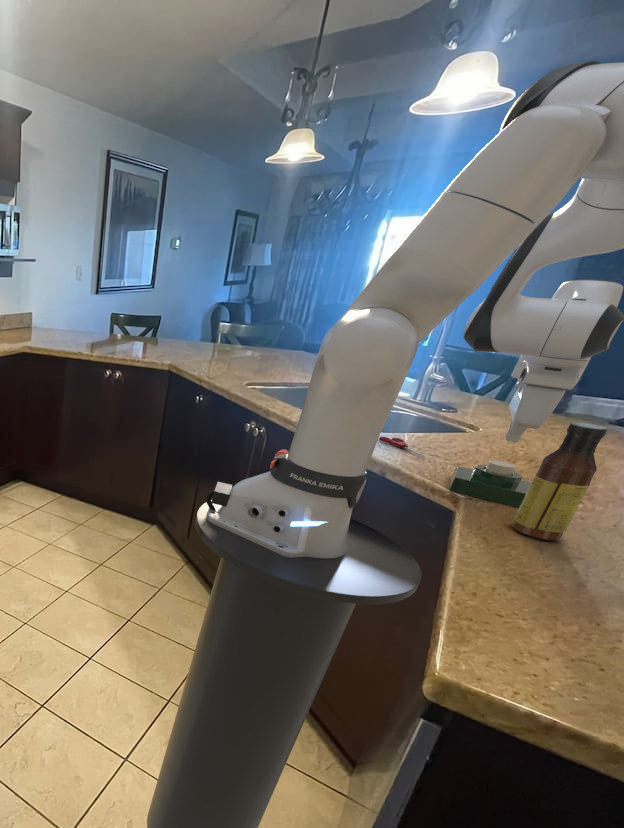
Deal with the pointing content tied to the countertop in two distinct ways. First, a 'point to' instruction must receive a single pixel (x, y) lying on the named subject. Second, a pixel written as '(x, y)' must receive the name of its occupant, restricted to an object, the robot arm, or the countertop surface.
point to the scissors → (398, 443)
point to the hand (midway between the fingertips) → (510, 440)
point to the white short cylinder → (500, 467)
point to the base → (490, 485)
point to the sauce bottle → (560, 484)
